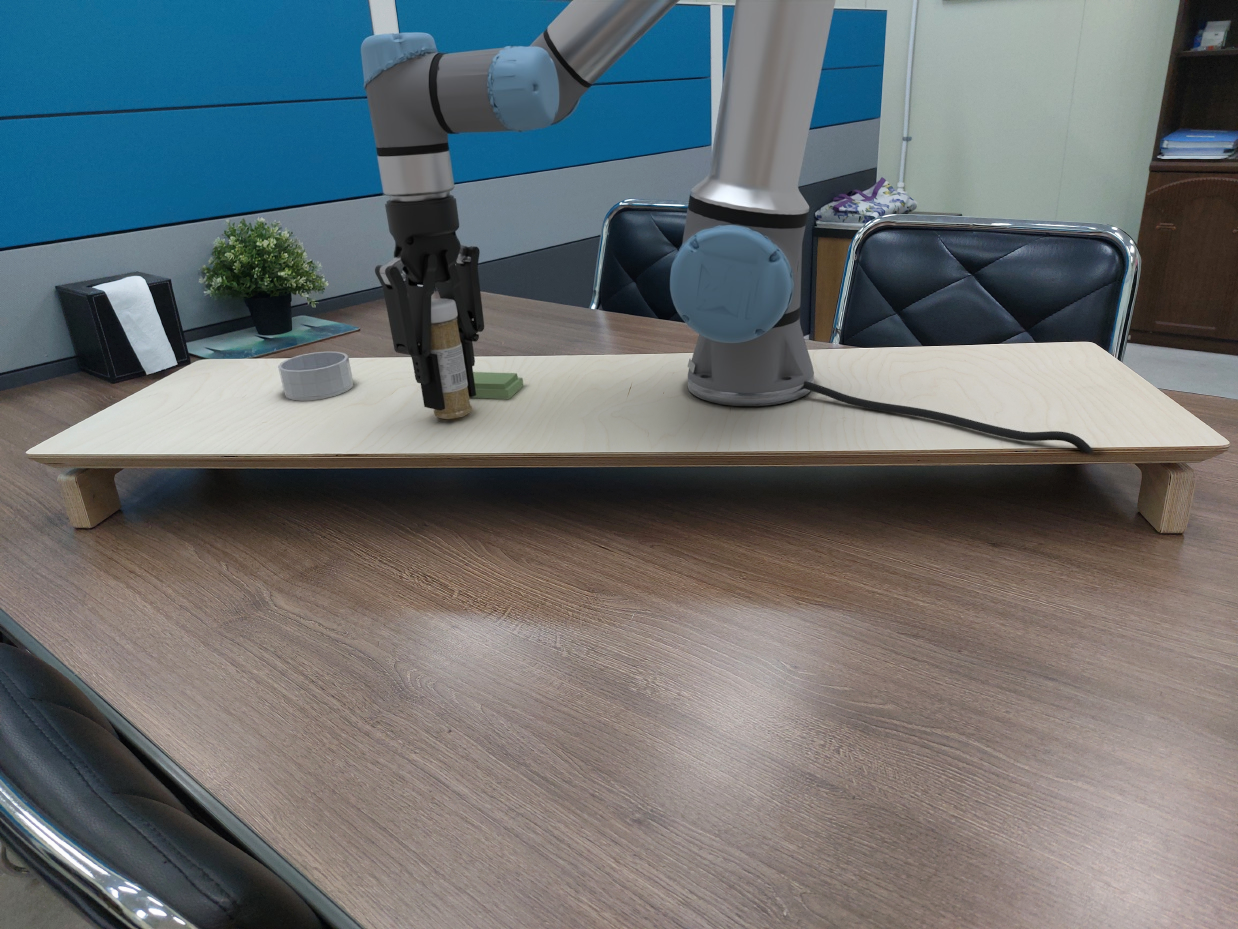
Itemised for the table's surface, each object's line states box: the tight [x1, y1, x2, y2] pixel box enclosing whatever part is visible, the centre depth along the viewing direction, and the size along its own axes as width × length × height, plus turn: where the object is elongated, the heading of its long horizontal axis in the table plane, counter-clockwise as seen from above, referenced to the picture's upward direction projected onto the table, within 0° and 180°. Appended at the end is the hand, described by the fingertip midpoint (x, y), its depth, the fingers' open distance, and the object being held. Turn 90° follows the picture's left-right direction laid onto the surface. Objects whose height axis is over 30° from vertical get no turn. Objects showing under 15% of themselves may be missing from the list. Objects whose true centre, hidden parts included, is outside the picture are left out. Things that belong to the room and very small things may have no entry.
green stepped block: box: [469, 371, 524, 400], centre depth 107 cm, size 8×5×2 cm, turn 75°
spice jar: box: [430, 298, 473, 420], centre depth 97 cm, size 5×5×13 cm
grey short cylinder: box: [277, 351, 354, 402], centre depth 111 cm, size 9×9×4 cm
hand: (450, 400), depth 99 cm, fingers closed on spice jar, 4 cm apart
